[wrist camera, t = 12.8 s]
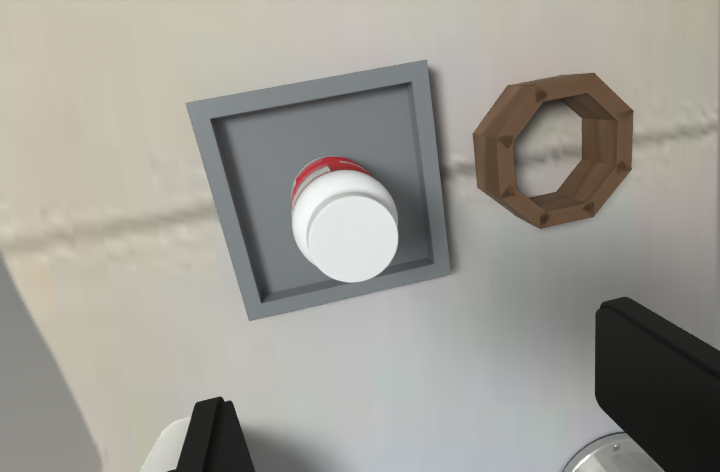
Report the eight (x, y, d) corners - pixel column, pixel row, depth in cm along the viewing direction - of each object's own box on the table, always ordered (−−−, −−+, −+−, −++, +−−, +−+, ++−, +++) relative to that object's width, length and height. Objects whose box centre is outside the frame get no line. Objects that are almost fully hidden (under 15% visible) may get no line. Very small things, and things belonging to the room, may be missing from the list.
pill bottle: (388, 201, 33) (435, 249, 23) (325, 250, 34) (343, 318, 23) (339, 135, 31) (367, 155, 21) (272, 188, 32) (267, 232, 21)
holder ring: (595, 197, 37) (630, 208, 34) (479, 222, 36) (502, 237, 33) (596, 68, 34) (635, 64, 30) (468, 92, 33) (492, 92, 29)
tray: (440, 262, 37) (450, 274, 35) (251, 306, 35) (249, 321, 33) (416, 62, 32) (426, 59, 29) (193, 102, 30) (185, 102, 28)
